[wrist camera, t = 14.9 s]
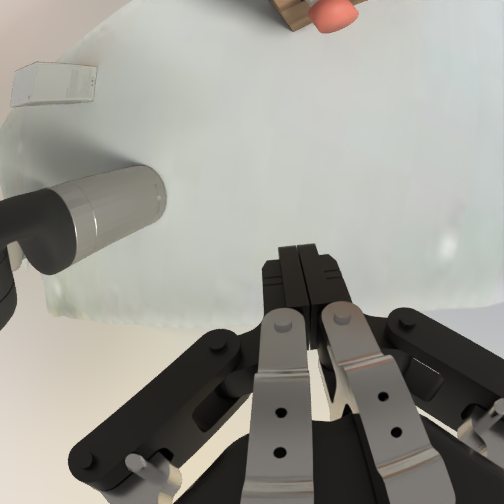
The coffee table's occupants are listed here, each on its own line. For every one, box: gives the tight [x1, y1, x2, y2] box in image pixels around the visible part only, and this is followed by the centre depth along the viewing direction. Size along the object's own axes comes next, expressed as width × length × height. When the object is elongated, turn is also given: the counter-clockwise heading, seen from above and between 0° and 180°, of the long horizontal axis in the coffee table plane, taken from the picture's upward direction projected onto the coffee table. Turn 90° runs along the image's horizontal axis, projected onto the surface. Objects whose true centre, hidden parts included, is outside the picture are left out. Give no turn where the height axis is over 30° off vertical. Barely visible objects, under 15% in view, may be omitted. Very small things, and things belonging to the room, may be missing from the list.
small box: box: [10, 62, 97, 107], centre depth 33 cm, size 8×6×13 cm
